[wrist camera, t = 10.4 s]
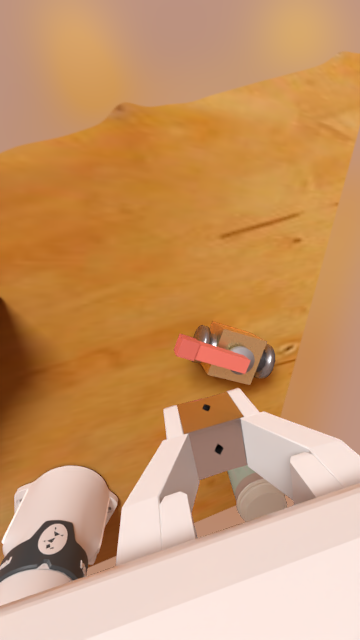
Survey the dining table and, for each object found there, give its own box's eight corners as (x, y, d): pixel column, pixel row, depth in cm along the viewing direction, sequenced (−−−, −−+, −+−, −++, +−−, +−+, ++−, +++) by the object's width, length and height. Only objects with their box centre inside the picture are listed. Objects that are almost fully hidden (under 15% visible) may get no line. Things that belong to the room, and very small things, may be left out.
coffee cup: (215, 471, 47) (238, 535, 35) (219, 436, 45) (245, 492, 34) (251, 468, 48) (285, 529, 37) (257, 434, 47) (294, 487, 35)
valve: (247, 373, 43) (264, 389, 37) (186, 357, 41) (193, 372, 34) (261, 335, 42) (281, 346, 36) (199, 317, 39) (210, 325, 33)
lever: (255, 350, 35) (267, 358, 32) (244, 374, 36) (255, 384, 33) (180, 326, 33) (185, 332, 29) (171, 352, 33) (174, 362, 30)
